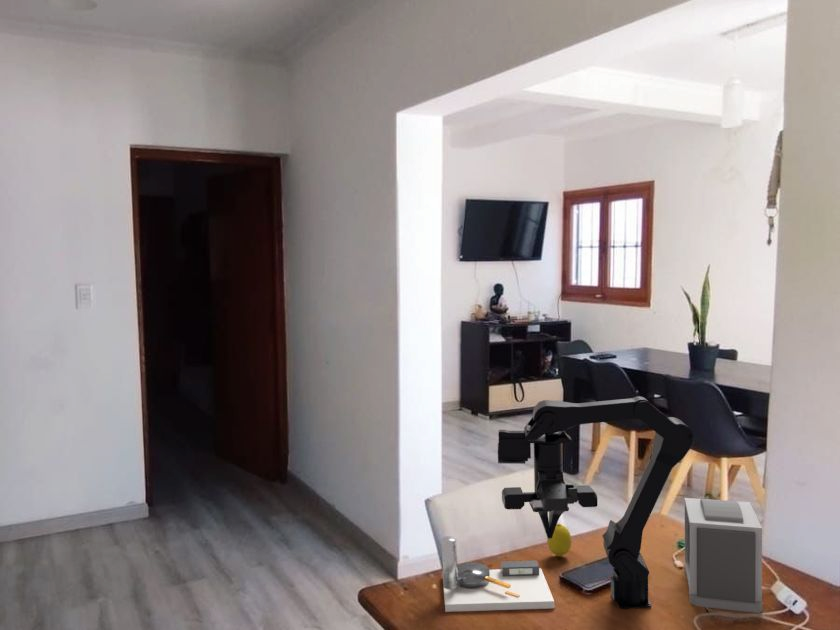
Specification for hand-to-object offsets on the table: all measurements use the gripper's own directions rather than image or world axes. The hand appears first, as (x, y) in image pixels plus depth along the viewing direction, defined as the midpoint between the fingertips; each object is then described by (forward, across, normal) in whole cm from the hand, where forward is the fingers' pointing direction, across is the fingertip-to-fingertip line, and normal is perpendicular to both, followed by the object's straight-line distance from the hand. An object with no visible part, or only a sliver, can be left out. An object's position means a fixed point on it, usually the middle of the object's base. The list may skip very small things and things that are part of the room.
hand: (549, 537), depth 140 cm
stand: (+13, -11, +4) cm, 17 cm away
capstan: (+11, -15, +2) cm, 19 cm away
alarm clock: (+13, +36, +2) cm, 39 cm away
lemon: (+13, +6, +20) cm, 25 cm away
